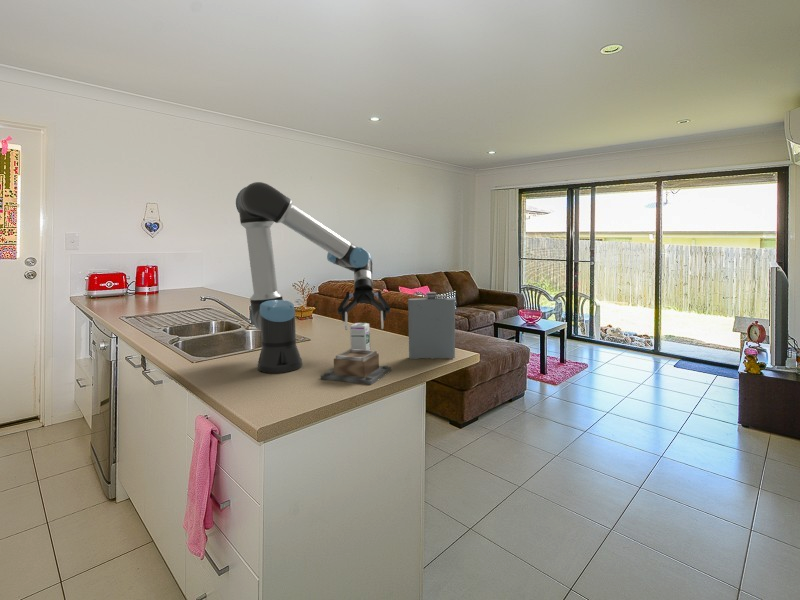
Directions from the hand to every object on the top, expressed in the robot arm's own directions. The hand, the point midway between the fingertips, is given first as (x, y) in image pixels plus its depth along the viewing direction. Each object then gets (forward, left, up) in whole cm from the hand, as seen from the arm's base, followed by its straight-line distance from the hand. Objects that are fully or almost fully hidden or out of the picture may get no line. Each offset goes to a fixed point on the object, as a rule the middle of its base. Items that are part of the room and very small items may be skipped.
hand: (364, 327), depth 160 cm
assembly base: (+6, -19, -12) cm, 23 cm away
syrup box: (+1, -6, -12) cm, 14 cm away
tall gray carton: (+23, +10, -12) cm, 28 cm away
